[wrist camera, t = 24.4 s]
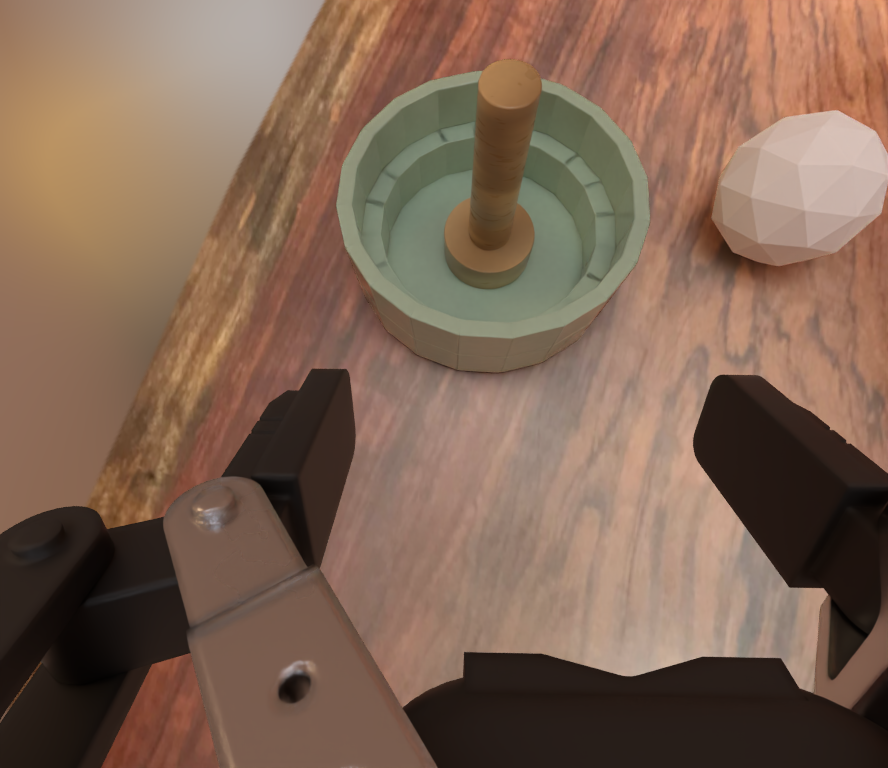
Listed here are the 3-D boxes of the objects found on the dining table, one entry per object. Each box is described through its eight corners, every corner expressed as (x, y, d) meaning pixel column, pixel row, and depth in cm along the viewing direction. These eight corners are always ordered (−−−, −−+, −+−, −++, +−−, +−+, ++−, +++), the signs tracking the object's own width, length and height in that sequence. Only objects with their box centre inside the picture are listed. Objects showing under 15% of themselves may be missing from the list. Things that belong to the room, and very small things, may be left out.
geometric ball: (709, 277, 31) (693, 248, 25) (732, 156, 30) (723, 93, 24) (856, 282, 27) (884, 249, 20) (888, 141, 26) (928, 59, 20)
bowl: (308, 271, 29) (272, 210, 23) (466, 115, 32) (469, 27, 26) (506, 429, 26) (522, 405, 20) (658, 241, 29) (710, 173, 23)
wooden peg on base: (427, 256, 28) (412, 90, 17) (480, 200, 29) (498, 10, 18) (493, 305, 27) (523, 164, 16) (546, 245, 28) (607, 74, 17)
